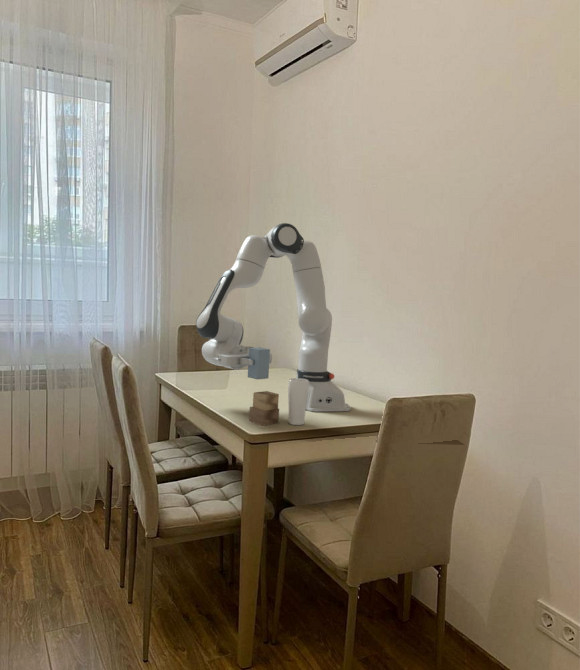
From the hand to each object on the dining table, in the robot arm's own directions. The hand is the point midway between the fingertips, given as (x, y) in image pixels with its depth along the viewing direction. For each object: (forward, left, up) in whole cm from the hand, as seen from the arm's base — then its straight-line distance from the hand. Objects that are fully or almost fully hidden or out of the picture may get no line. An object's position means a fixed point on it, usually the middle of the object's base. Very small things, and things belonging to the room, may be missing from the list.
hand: (260, 362), depth 196 cm
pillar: (+1, -1, -6) cm, 6 cm away
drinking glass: (-13, +4, -20) cm, 24 cm away
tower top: (-2, +3, -15) cm, 16 cm away
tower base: (-2, +3, -20) cm, 20 cm away
